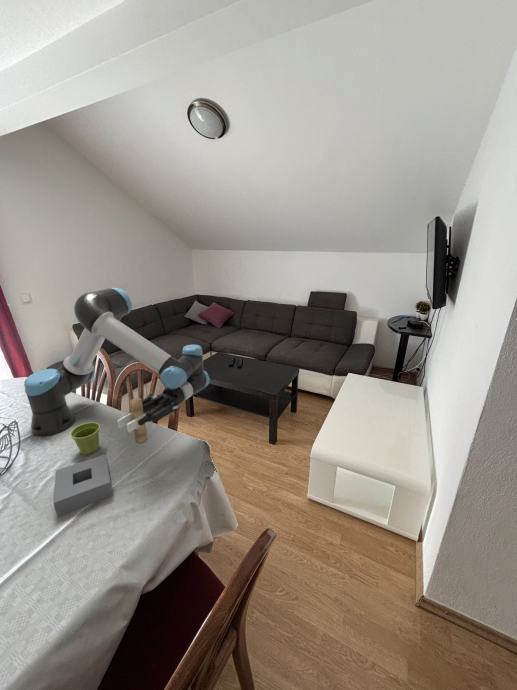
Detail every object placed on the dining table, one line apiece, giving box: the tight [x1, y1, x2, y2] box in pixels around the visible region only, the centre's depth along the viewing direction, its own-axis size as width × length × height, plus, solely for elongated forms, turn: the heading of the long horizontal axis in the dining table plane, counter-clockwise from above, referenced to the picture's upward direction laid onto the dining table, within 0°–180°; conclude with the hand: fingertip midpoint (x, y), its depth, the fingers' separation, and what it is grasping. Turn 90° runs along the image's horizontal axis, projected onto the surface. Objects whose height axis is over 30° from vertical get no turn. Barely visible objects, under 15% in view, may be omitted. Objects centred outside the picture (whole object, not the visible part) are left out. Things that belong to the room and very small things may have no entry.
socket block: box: [53, 454, 114, 517], centre depth 87 cm, size 14×14×5 cm
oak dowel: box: [129, 397, 148, 445], centre depth 91 cm, size 4×4×15 cm
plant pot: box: [69, 421, 101, 455], centre depth 104 cm, size 9×9×9 cm
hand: (123, 426), depth 86 cm, fingers closed on oak dowel, 3 cm apart
